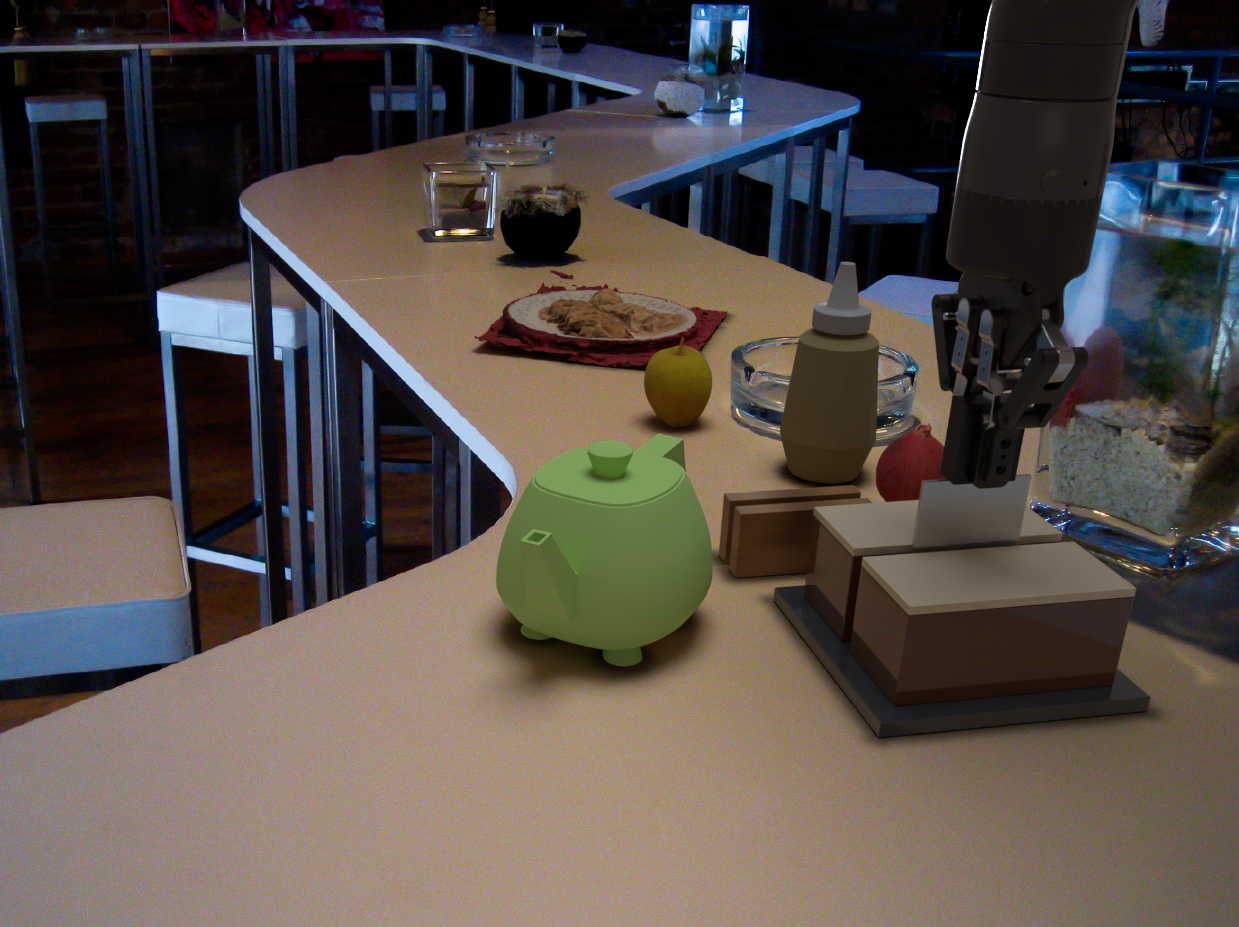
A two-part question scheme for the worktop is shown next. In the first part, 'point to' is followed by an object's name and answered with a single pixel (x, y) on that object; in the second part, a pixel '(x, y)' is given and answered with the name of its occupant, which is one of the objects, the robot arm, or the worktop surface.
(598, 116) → the worktop surface
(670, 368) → the apple
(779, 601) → the cake
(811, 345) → the squeeze bottle
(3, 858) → the worktop surface
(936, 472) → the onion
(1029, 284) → the robot arm
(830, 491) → the knife block
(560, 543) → the teapot
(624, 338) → the plate with food
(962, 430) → the knife
